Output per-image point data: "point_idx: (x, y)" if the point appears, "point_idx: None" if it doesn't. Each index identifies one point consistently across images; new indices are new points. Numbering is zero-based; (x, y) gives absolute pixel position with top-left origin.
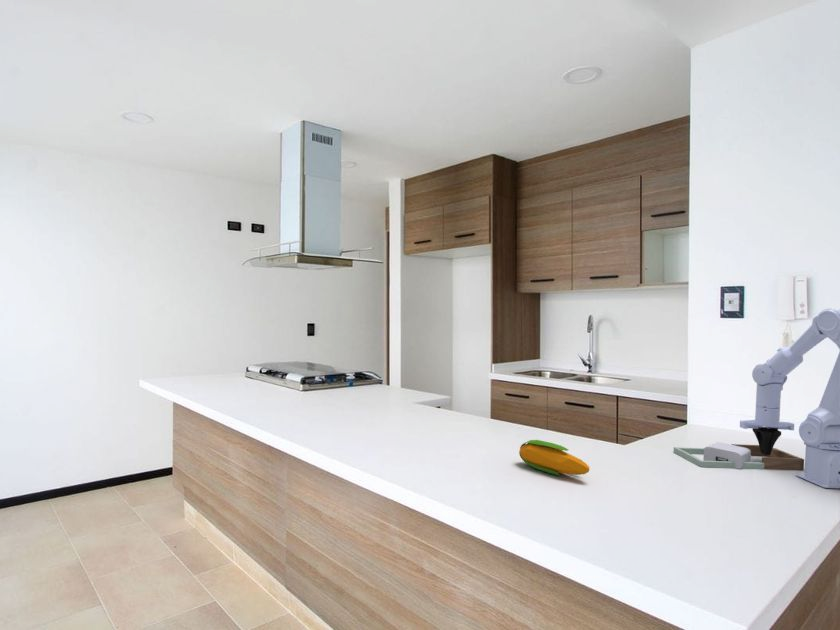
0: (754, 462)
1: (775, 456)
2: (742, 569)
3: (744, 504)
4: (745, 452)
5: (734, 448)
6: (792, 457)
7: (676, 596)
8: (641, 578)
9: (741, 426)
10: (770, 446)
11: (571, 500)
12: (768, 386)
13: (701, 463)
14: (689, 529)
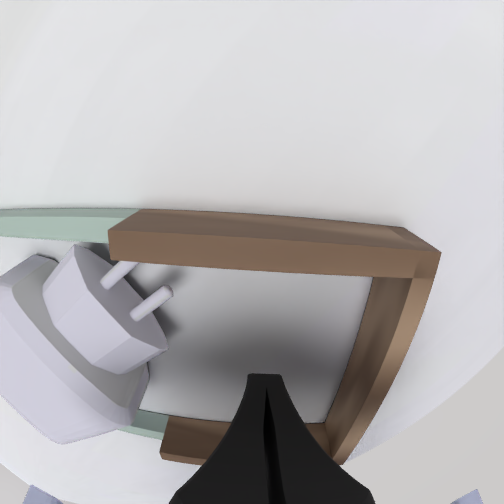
0: (131, 428)
1: (368, 334)
2: (44, 489)
3: (56, 472)
4: (90, 436)
5: (50, 413)
6: (339, 440)
7: (20, 478)
8: (6, 467)
9: (39, 500)
10: (265, 455)
11: None
12: None
13: None
14: (15, 463)
